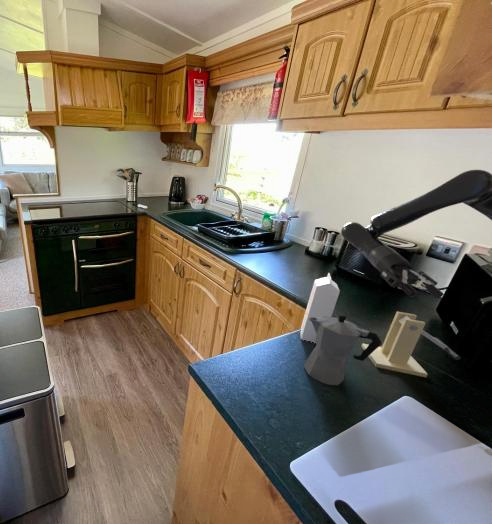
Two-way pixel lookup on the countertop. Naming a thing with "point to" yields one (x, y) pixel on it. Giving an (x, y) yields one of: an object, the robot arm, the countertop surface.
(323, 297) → the milk
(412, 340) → the bracket
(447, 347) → the lever
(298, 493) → the countertop surface
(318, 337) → the coffeepot
